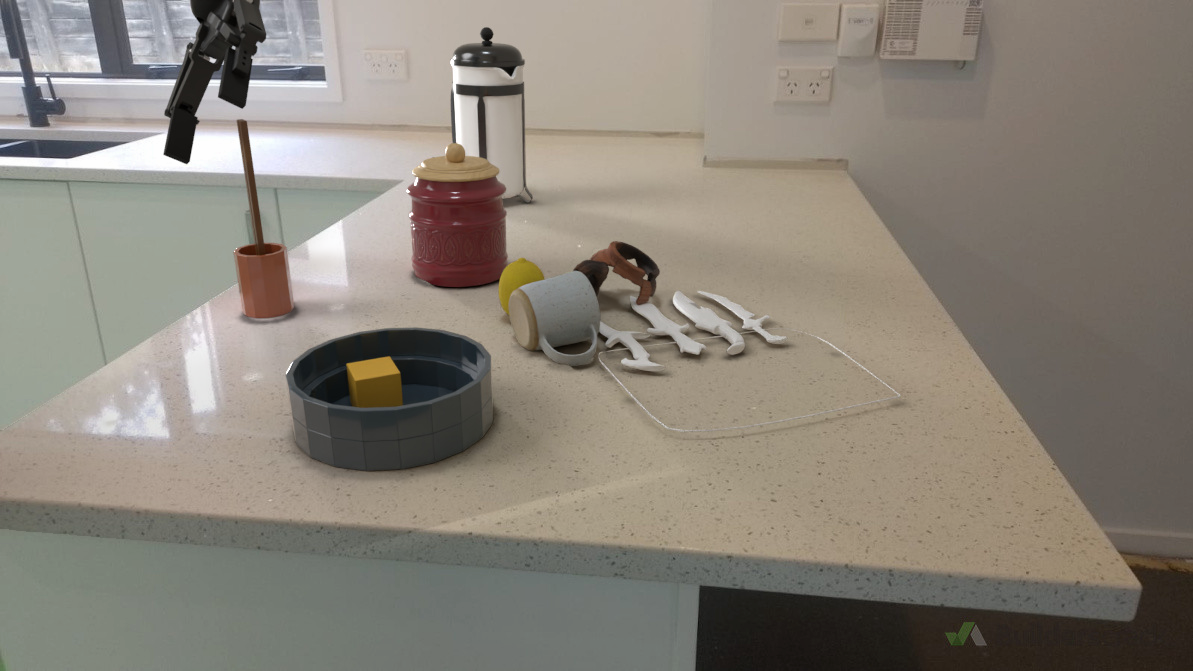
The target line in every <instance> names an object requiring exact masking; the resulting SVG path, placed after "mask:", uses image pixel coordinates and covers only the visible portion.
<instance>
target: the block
mask: <svg viewBox="0 0 1193 671" xmlns="http://www.w3.org/2000/svg"><path fill="white" fill-rule="evenodd" d="M346 366H347V375H348V385H349V394H350V402H351V404H352V406H353V407H359V408H373V407H397V406H403V398H402V386H401V374H400V372H399V370H398V368H397V367H396V365H395V364H394V362H393V361H392V359H391V358H390V357H383V358H377V359H371V360H365V361H359V362H353V363H347V364H346Z"/></svg>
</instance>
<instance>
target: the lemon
mask: <svg viewBox="0 0 1193 671" xmlns="http://www.w3.org/2000/svg"><path fill="white" fill-rule="evenodd" d="M545 279H546V278H545V276H544V273H543V271H542V269H541V268H540V267H539V266H538V265H537V264H536V263H534V262H532V261H530V260H527V259H526V258H525V257H519V258H517V260H514V261H512V262H510V263H508V265H507V267H506V268H505V269H504V271H503V272H502V275H501V277H500V279H499V281H498V289H497V290H498V291H497V292H498V299H499V302H500V306H501V308H502V310H503V311H504V312H505V314H507V316H509V299H510V296H511V294H512V292H513V291H514V290H516V289H518V288H519V287H521V286H524V285H526V284H529V283H533V282H537V281H541V280H545Z"/></svg>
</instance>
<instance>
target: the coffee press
mask: <svg viewBox="0 0 1193 671" xmlns="http://www.w3.org/2000/svg"><path fill="white" fill-rule="evenodd" d="M494 35H495V33H494V31H493V29H492V28H490V27H489V26H488V27H487V26H486V27H482V28H481V30H480V33H479V36H480V38H481V40H482V41H481V42H472V43H471V42H470V43H465V44H461V45H460V46H458V47H457V48H455V50H454V51H453V53H452V58H450V59H449V63H450V66H451V67H452V80H453V81H451V91H450V124H451V139H452V140H451V141H452V143H458V144H460V145H462V146H463V148H464V150H465V156H474V157H480V158H484V159H486V160H488V161H489V163H491V164H492V165H494V166H496V167H497V168H499V174H498V175H496V177H497V179H498V181H500V182H501V183H503V184H504V185H505V186H506V192H505V193H504V194H503V195H502V200H505V199H510V198H514V197H515V198H516V197H517V198H519V199H521V200H522V201H523V202H524V203H526V204H530V203H531V202H532V200H533V199H534V196H533V194H532V193H531V192H530V190H529V189H528V186H527V168H526V167H527V160H526V159H527V157H526V154H527V153H526V109H525V108H526V107H525V106H526V104H525V81H524V67H525V64H526V59H524V58H523V55H522V53H521V51H520V50H519V49H518V48H517V47H516V46H514V45H511V44H508V43H501V42H493V41H492V39H493V37H494ZM524 190H525V192H526V194H527V196H528V197H529V198H530V200H527V198H525V197H524V196H523V195H521V194H522V193H523V191H524Z"/></svg>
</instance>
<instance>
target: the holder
mask: <svg viewBox="0 0 1193 671" xmlns="http://www.w3.org/2000/svg"><path fill="white" fill-rule="evenodd" d="M264 246H265V253H266V255H256V250H255V243H248V244H244V245H242V246H239V247H236V248H235V249H234V250H233V252H232V253H233V254H232V255H233V259H234V265H235V272H236V273H235V274H236V278H237V284H238V285H237V286H238V292H239V298H240V303H241V311H242V313H243V315H244V316H246V317H248V318H252V319H270V318H271V319H272V318H277V317H281V316H284V315H287V314H289V313H291V312H292V311H293V310H294V308H295V301H294V292H293V285H292V277H291V270H290V263H289V255H288V254H289V253H288V249H287V248H288V247H287V246H285V244H283V243H277V242H264Z"/></svg>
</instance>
